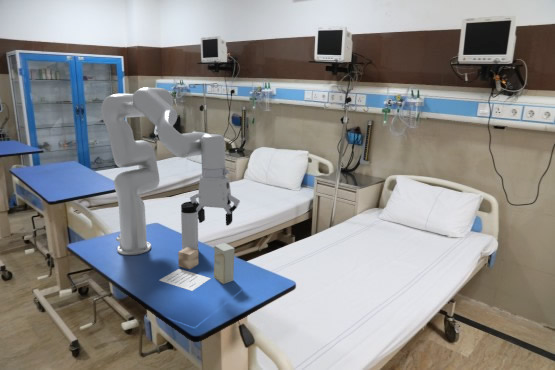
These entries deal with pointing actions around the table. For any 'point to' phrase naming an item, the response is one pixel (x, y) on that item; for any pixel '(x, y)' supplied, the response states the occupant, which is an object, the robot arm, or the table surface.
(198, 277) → the letter
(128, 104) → the robot arm
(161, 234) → the table surface
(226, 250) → the skincare box
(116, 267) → the table surface
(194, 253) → the block
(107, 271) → the table surface
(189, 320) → the table surface
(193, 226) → the travel mug
